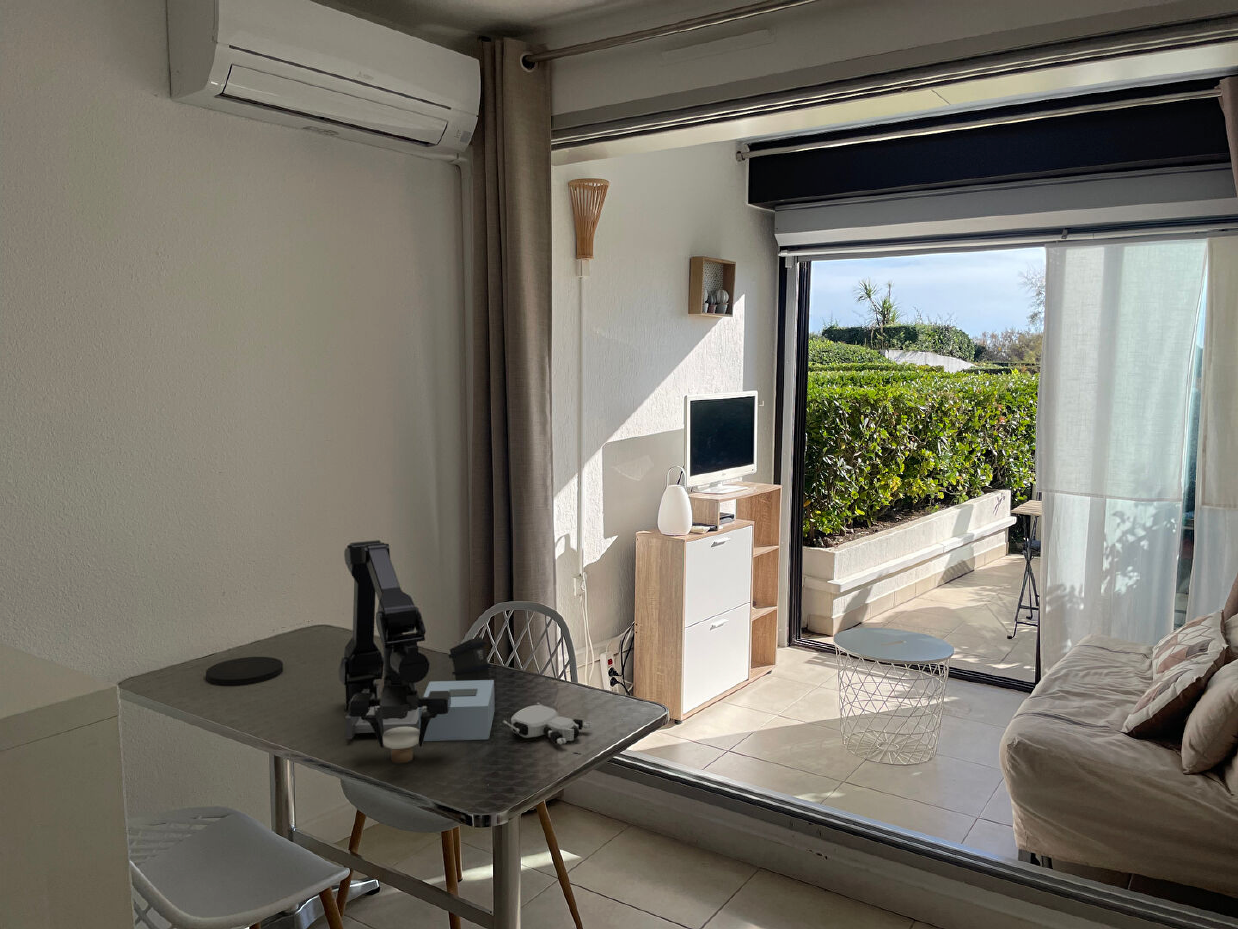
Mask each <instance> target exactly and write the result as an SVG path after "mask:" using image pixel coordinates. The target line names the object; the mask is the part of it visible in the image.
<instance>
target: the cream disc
mask: <svg viewBox="0 0 1238 929" xmlns="http://www.w3.org/2000/svg"><path fill="white" fill-rule="evenodd" d="M419 735H420V731H419V729H417V728H414V727H397V728H392V729H389V730H387V731H386V732H384V733H383V745H384V747H386V748H388V749H390V750H391V749H403V748H408V747H412V748H413V747H414V746H416V745H419Z"/></svg>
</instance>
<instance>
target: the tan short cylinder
mask: <svg viewBox="0 0 1238 929" xmlns="http://www.w3.org/2000/svg"><path fill="white" fill-rule="evenodd" d="M390 753H391V754H390V755H391V756H390V757H391V762H392V763H395V764H406V763H409V762H411V761H412V760H413V756H414V755H413V746H412V747H408V748H403V749H391V748H390Z"/></svg>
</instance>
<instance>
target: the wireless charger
mask: <svg viewBox="0 0 1238 929" xmlns="http://www.w3.org/2000/svg"><path fill="white" fill-rule="evenodd" d="M283 672H284V664H283V661H282V660H280V659H278V658H276V657H270V656H246V657H239V658H233V659H229V660H224V661H222V662H219V663H215V664H213V665H212V666H210V667H209V668H207V669H206V671H205V680H206V682H207V683H208V684H210V685H214V686H219V687H242V686H249V685H255V684H261V683H263V682H264V683H265V682H266V681H270V680H273V679H275V678H277V677H279V676H281V674H283Z"/></svg>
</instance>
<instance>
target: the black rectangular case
mask: <svg viewBox="0 0 1238 929" xmlns="http://www.w3.org/2000/svg"><path fill="white" fill-rule="evenodd" d="M486 645H487V643H486V641H485V640H484V641H483V638H482V636H478V637H476V638H474V637H473V638H470V639H469V640H466V641H464V642H462V643H460V644H458V645H456V646H453V647H452V648H450V649H449V652H450V654H449V655H448V658H449V659H451V660H452V661H451V662H452V664H453V670H454V671H452V676H454V677H455V681H474V680H491V676H490V670H489V669H491V668H492V666H491V663H490V662H489V663H488V659H487V658H488V657H487V652H486V649H485V646H486Z"/></svg>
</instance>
